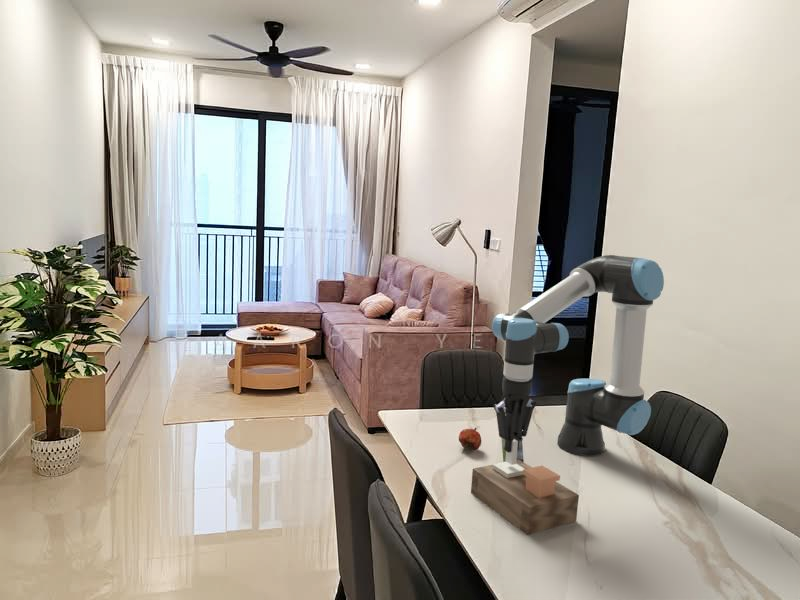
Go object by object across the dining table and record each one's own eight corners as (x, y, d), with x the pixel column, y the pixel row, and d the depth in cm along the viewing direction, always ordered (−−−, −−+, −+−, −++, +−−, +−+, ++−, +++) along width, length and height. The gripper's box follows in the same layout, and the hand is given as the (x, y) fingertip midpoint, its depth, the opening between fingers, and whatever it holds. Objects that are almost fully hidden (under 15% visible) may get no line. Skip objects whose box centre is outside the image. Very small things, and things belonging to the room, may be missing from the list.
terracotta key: (539, 494, 156) (542, 465, 155) (556, 505, 151) (560, 475, 149) (520, 499, 153) (523, 469, 152) (537, 510, 147) (540, 480, 146)
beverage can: (523, 473, 177) (526, 435, 175) (498, 470, 179) (501, 432, 177) (523, 465, 183) (526, 427, 182) (499, 462, 185) (502, 424, 183)
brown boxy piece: (516, 482, 171) (518, 459, 170) (576, 521, 152) (578, 495, 150) (470, 492, 163) (472, 468, 162) (527, 534, 144) (530, 507, 143)
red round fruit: (475, 462, 189) (491, 438, 194) (465, 447, 185) (482, 423, 190) (457, 457, 194) (473, 433, 199) (448, 442, 191) (464, 418, 196)
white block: (508, 487, 167) (511, 460, 166) (523, 497, 161) (526, 469, 160) (490, 491, 164) (492, 464, 163) (505, 502, 158) (507, 473, 157)
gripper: (527, 371, 164) (520, 453, 168) (488, 376, 158) (482, 460, 161) (546, 378, 158) (538, 463, 161) (507, 384, 151) (500, 472, 155)
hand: (510, 462), depth 161 cm, fingers closed
